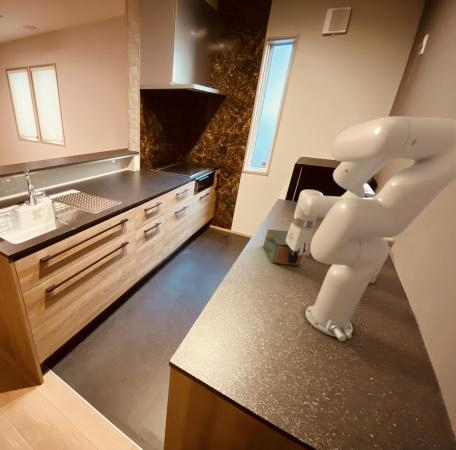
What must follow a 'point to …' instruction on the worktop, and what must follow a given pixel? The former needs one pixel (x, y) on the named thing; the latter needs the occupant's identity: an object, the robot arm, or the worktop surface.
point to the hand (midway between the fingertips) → (291, 262)
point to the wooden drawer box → (285, 256)
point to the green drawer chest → (274, 242)
